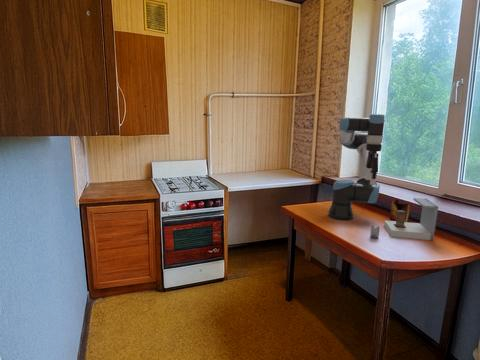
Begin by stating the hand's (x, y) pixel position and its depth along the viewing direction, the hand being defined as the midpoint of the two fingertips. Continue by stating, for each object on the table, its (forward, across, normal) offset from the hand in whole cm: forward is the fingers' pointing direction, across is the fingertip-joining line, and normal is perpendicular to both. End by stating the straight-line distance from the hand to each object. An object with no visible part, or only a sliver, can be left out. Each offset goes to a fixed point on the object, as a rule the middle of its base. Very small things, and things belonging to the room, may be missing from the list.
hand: (370, 182), depth 164 cm
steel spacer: (+27, +14, +2) cm, 30 cm away
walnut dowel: (+27, +2, +17) cm, 32 cm away
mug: (+27, -17, +23) cm, 39 cm away
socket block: (+27, +2, +21) cm, 34 cm away
